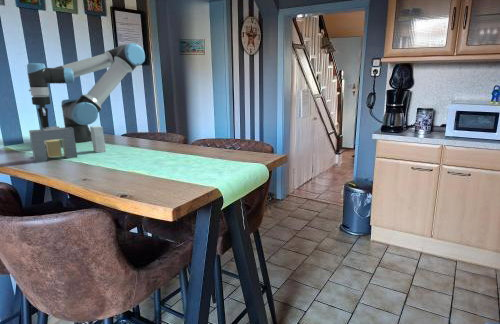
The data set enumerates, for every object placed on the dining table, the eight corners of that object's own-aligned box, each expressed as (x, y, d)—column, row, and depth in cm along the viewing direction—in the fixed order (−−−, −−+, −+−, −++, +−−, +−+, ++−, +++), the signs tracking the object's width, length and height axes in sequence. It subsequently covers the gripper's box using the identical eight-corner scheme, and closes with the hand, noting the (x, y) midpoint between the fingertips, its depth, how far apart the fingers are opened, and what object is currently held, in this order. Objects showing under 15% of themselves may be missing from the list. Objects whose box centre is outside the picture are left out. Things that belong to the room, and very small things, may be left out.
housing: (74, 154, 155) (70, 125, 151) (77, 157, 150) (73, 126, 147) (34, 160, 146) (28, 128, 142) (35, 162, 141) (30, 130, 137)
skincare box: (106, 151, 161) (103, 126, 158) (96, 153, 158) (93, 127, 155) (102, 149, 166) (99, 125, 163) (92, 150, 163) (89, 126, 160)
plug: (56, 150, 166) (54, 136, 164) (61, 155, 154) (59, 140, 152) (44, 151, 163) (42, 137, 161) (49, 157, 151) (46, 142, 149)
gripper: (30, 96, 165) (37, 143, 171) (32, 97, 155) (40, 147, 161) (47, 95, 170) (54, 141, 176) (51, 96, 160) (58, 145, 166)
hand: (47, 144), depth 168 cm, fingers closed
